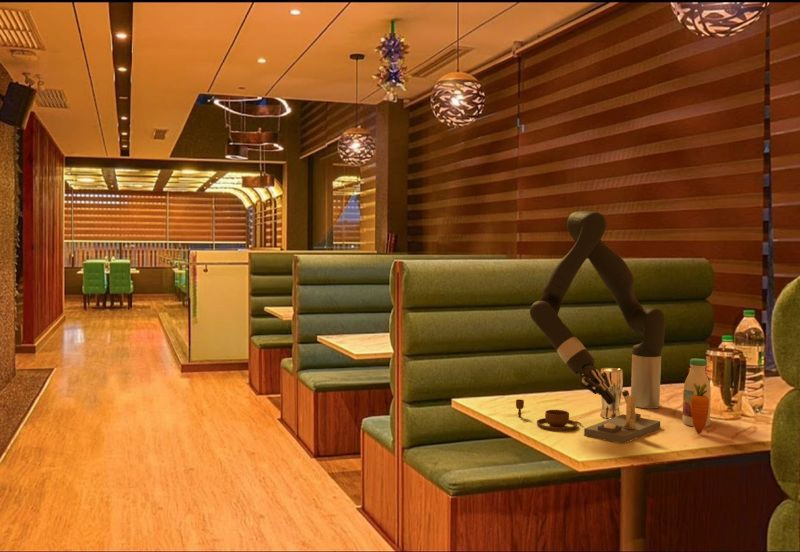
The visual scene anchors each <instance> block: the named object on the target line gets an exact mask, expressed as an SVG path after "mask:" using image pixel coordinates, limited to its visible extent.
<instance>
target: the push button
mask: <svg viewBox="0 0 800 552" xmlns="http://www.w3.org/2000/svg"><path fill="white" fill-rule="evenodd" d="M604 427H605V428H610V429H614V428H616V425H615V424H609V423H607V424H604Z"/></svg>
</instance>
